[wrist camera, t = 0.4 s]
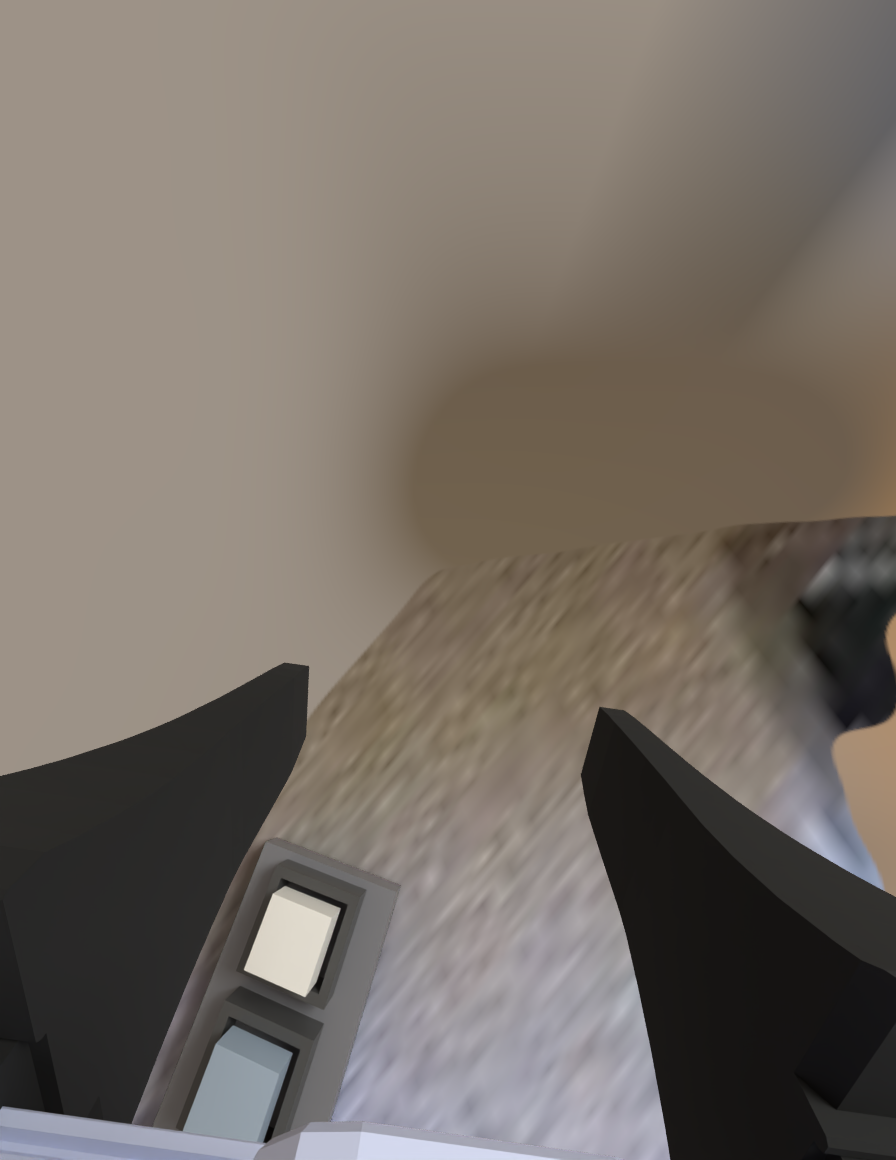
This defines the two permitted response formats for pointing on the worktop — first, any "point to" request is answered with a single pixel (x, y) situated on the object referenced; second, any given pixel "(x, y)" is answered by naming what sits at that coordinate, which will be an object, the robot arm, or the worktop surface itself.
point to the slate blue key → (239, 1087)
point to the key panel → (279, 1015)
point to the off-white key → (292, 940)
